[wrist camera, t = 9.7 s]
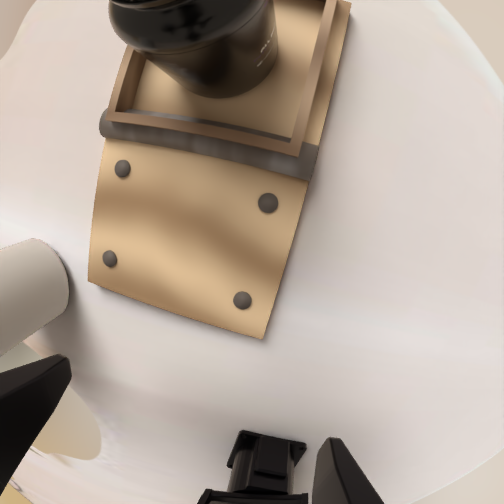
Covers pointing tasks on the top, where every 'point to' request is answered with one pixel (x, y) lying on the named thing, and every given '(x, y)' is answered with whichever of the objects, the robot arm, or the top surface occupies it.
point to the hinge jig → (213, 177)
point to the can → (29, 290)
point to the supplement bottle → (202, 41)
